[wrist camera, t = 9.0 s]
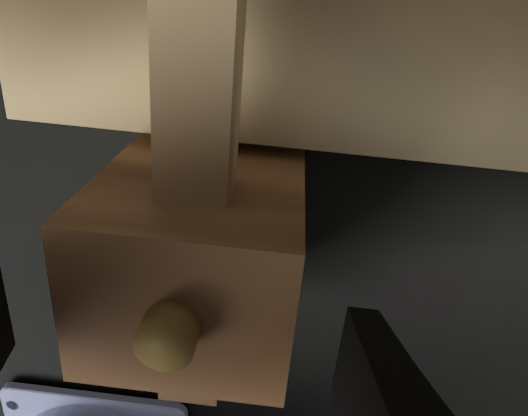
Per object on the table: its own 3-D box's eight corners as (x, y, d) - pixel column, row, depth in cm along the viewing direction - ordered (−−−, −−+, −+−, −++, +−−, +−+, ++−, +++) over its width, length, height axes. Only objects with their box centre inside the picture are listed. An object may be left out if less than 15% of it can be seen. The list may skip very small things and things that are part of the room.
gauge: (284, 300, 17) (273, 494, 11) (151, 285, 17) (59, 467, 11) (333, -82, 12) (370, -162, 5) (138, -98, 12) (-59, -196, 5)
